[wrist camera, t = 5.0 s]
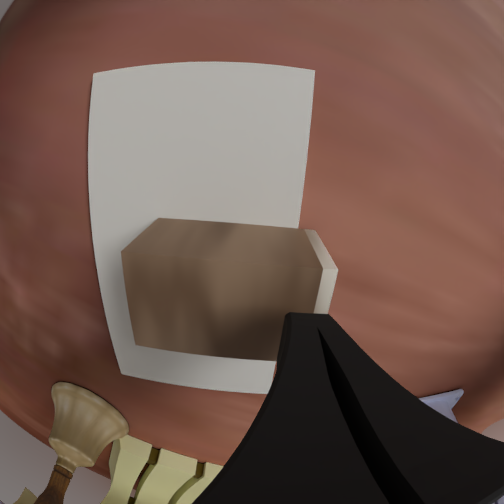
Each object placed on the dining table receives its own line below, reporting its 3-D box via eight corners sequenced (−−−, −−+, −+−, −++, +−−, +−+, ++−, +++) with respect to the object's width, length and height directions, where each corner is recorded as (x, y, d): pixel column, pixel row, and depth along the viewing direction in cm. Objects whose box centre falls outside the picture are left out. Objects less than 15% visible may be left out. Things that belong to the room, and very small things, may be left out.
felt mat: (269, 389, 17) (269, 393, 16) (123, 370, 17) (121, 373, 16) (313, 72, 10) (315, 70, 10) (97, 74, 10) (93, 73, 10)
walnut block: (313, 362, 10) (135, 345, 10) (301, 306, 14) (162, 294, 14) (338, 269, 9) (120, 251, 9) (314, 230, 12) (158, 217, 12)
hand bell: (145, 438, 21) (110, 578, 6) (87, 432, 22) (45, 543, 7) (93, 380, 18) (21, 546, 3) (38, 379, 19) (-28, 500, 4)
